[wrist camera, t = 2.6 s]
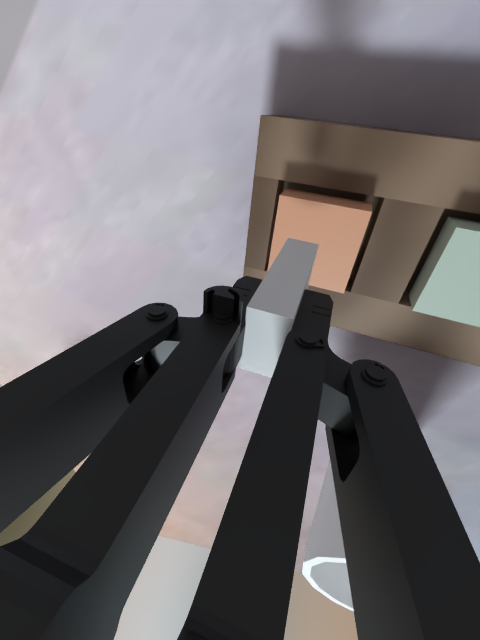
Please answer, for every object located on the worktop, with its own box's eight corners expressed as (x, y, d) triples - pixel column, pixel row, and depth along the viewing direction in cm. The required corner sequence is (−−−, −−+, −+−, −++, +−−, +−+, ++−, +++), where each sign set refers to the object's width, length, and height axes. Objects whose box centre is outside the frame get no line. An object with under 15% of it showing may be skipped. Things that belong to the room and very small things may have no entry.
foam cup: (356, 389, 28) (349, 544, 18) (446, 438, 27) (492, 626, 17) (307, 435, 34) (281, 571, 24) (380, 476, 33) (385, 632, 23)
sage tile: (555, 235, 15) (576, 249, 14) (496, 315, 18) (508, 334, 16) (448, 216, 16) (456, 227, 15) (408, 294, 19) (412, 310, 18)
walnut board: (896, 190, 12) (1017, 208, 10) (640, 384, 20) (677, 420, 17) (274, 114, 18) (260, 115, 16) (252, 284, 26) (240, 301, 23)
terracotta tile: (372, 203, 17) (372, 211, 16) (345, 279, 20) (343, 293, 18) (287, 188, 18) (279, 195, 17) (274, 262, 21) (266, 274, 20)
